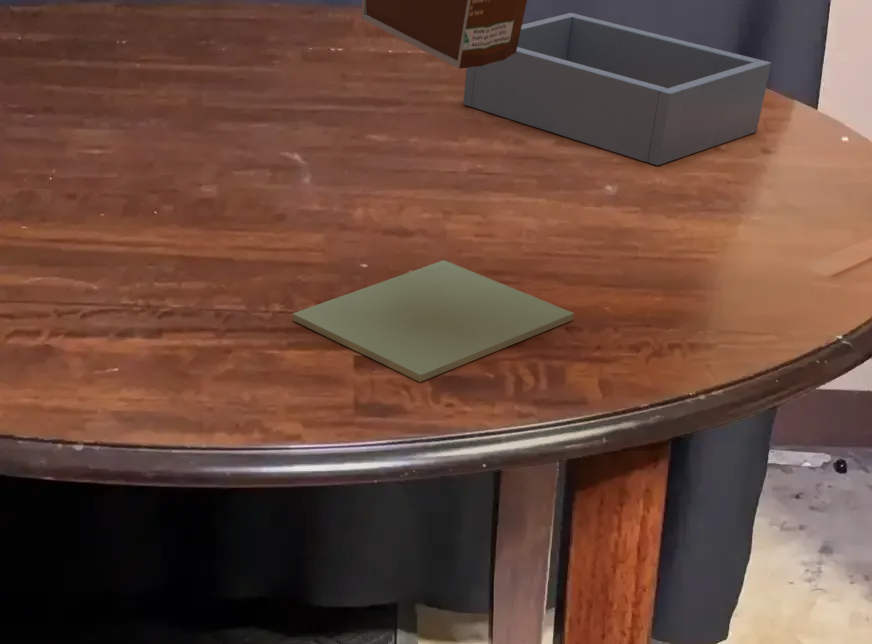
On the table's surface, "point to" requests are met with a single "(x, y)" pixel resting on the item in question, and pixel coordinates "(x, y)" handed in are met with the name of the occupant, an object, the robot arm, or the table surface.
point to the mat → (432, 319)
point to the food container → (452, 27)
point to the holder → (622, 88)
